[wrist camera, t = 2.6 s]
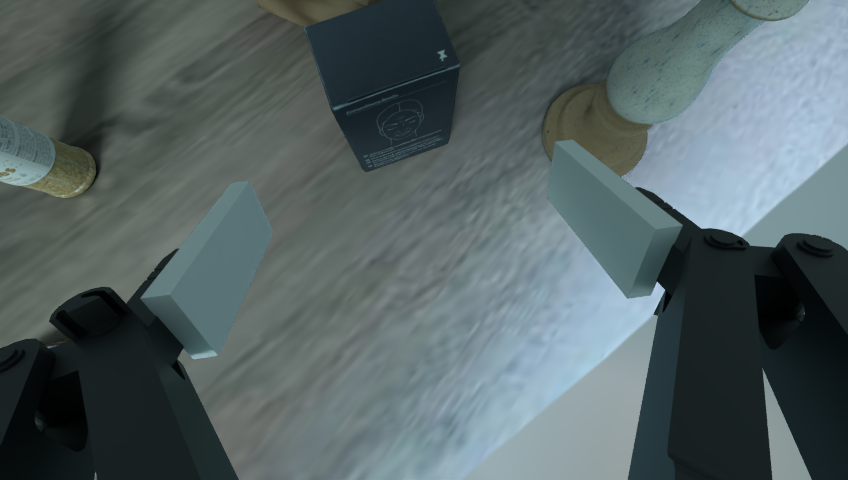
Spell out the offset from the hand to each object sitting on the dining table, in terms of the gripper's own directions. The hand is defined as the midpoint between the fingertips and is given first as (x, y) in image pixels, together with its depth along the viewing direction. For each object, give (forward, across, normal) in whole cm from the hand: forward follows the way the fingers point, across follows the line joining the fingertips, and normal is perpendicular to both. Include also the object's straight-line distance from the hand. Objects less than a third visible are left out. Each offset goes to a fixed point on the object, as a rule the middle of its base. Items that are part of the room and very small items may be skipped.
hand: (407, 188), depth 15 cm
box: (+16, 0, -3) cm, 16 cm away
